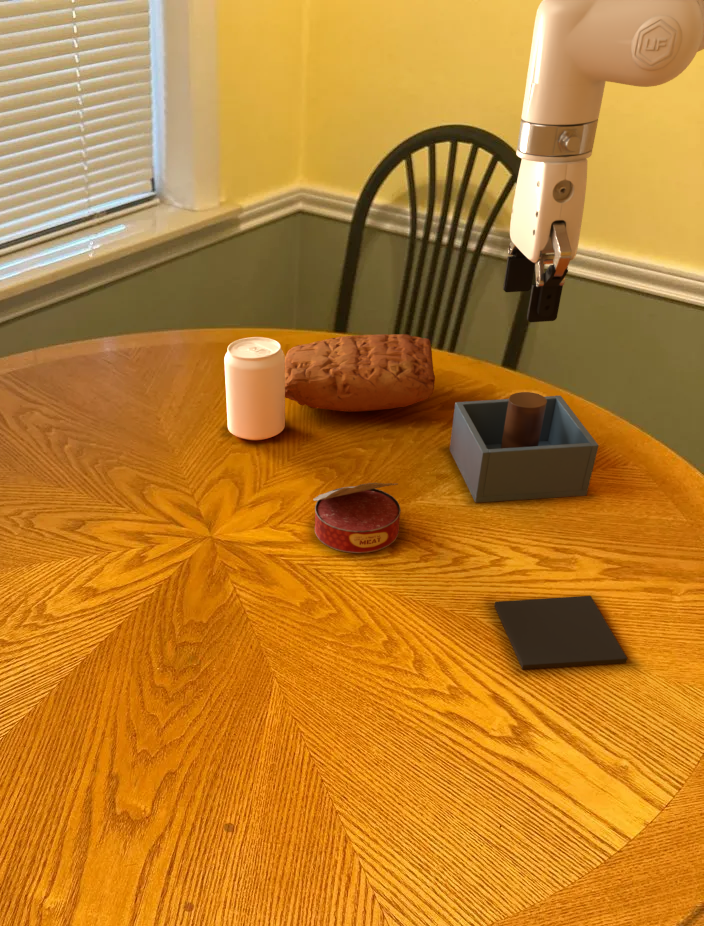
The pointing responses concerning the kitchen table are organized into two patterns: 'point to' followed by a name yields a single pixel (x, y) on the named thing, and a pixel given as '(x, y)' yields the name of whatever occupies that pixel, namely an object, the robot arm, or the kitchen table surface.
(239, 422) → the beverage can
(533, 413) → the brown cylinder
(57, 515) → the kitchen table surface
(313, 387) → the inscribed clay slab
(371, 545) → the canned food
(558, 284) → the robot arm
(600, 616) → the mat
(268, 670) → the kitchen table surface
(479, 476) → the bin
